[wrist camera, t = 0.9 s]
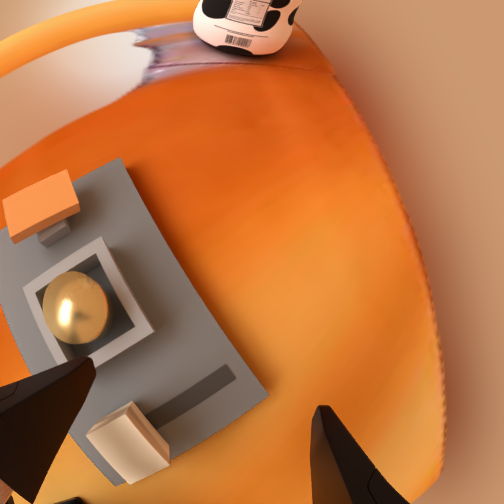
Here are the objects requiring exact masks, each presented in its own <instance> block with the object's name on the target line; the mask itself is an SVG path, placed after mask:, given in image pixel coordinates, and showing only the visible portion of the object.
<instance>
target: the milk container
mask: <svg viewBox="0 0 504 504" xmlns="http://www.w3.org/2000/svg"><path fill="white" fill-rule="evenodd" d="M301 2H302V0H201V1H200V2H199V4H198V5H197V7H196V10H195V12H194V17H193V28H194V31H195V34H196V35H197V36H198V37H199V38H200V39H201V40H202V41H203V42H205V43H207V44H209V45H211V46H212V47H214V48H217V49H220V50H223V51H226V52H229V53H234V54H240V55H247V56H249V55H252V56H261V55H268V54H272V53H275V52H276V51H278V50H280V49H281V48H282V47H283V45H284V44H285V43H286V42H287V40H288V39H289V37H290V35H291V32H292V28H293V21H294V16H295V13H296V11H297V9H298V7H299V5H300V4H301Z"/></svg>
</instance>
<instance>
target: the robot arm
mask: <svg viewBox="0 0 504 504" xmlns="http://www.w3.org/2000/svg"><path fill="white" fill-rule="evenodd" d="M95 378H96V369H95V366H94V362H93V359H92V358H91V357H88V356H86V355H82V356H79V357H77V358H75V359H72V360H70V361H67V362H65V363H62V364H60V365H57V366H55V367H52V368H50V369H47V370H45V371H42V372H40V373H37V374H35V375H32V376H30V377H27V378H25V379H22V380H20V381H17V382H14V383H11V384H8V385H6V386H2V387H0V504H14V501H13V497H12V496H11V494H12V492H13V491H15V492H16V493H18V494H19V495H20V496H22V497H23V498H24V499H26V500H27V501H28V502H30V503H31V504H33V503H34V501H35V499H36V496H37V494H38V492H39V490H40V487H41V485H42V483H43V481H44V479H45V477H46V475H47V473H48V472H47V471H48V470H49V468H50V466H51V464H52V462H53V460H54V458H55V456H56V454H57V452H58V450H59V448H60V447H61V445H62V443H63V441H64V439H65V437H66V435H67V433H68V431H69V430H70V428H71V426H72V424H73V422H74V421H75V419H76V417H77V415H78V413H79V412H80V410H81V408H82V406H83V404H84V402H85V400H86V398H87V396H88V393H89V391H90V389H91V387H92V384H93V382H94V380H95ZM310 467H311V482H312V499H313V504H410V503H409V502H408V501H406V500H405V499H404V498H403V497H402V496H401V495H400V494H399V493H398V492H397V491H396V490H395V489H394V488H393V487H392V486H391V485H390V484H389V483H388V482H387V480H386V479H385V478H384V477H383V476H382V475H381V473H380V472H379V471H378V469H377V468H375V466H374V464H373V463H372V462H371V460H370V459H369V458H368V456H367V455H366V454H365V453H364V451H363V450H362V449H361V447H360V446H359V445H358V443H357V442H356V441H355V439H354V438H353V437H352V435H351V434H350V433H349V431H348V430H347V429H346V427H345V426H344V425H343V423H342V422H341V421H340V419H339V418H338V416H337V415H336V414H335V412H334V411H333V410H332V408H331V407H330V406H329V405H319V406H318V407H317V409H316V411H315V414H314V416H313V418H312V426H311V445H310ZM76 500H77V501H76ZM78 501H79V502H78ZM55 504H85V503H84V502H83V501H82V500H81V499H80V498H78V497H74V498H71V499H68V500H65V501H62V502H58V503H55Z"/></svg>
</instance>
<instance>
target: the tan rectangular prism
mask: <svg viewBox="0 0 504 504" xmlns="http://www.w3.org/2000/svg"><path fill="white" fill-rule="evenodd" d="M86 437H87V438H88V439H89V440H90V442H91V443H92V444H93V445H94V447H95V448H96V449H97V450H98V451H99V453H100V454H101V455H102V456H103V457H104V458H105V459H106V461H107V462H108V463H109V464H110V465H111V466H112V467H113V468H114V469H115V470H116V471H117V472H118V473H119V474H120V475H121V476H122V477H123V478H124V479H125V480H126V481H127V482H128V483H129V484H132V483H135V482H137V481H139V480H141V479H143V478H145V477H148V476H150V475H152V474H154V473H156V472H158V471H160V470H162V469H163V468H165V467H167V466H169V465H170V455H169V444H168V443H167V442H166V441H165V440H164V439H163V438H162V437H161V435H160V434H159V433H158V432H157V431H156V430H155V428H154V427H153V426H152V425H151V424H150V422H149V421H148V420H147V419H146V417H145V416H144V415H143V414H142V412H141V411H140V410H139V409H138V407H137V406H136V405H135V403H134V402H133V401H131V402H129V403H128V404H126V405H124V406H122V407H121V408H119V409H117V410H115V411H114V412H112V413H110V414H108V415H106V416H105V417H103V418H101V419H99V420H98V421H97V422H96V423H95V424H94V426H93V427H92V428H91V429H90V430H89V432H88V433H87V434H86Z"/></svg>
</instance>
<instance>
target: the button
mask: <svg viewBox="0 0 504 504" xmlns="http://www.w3.org/2000/svg"><path fill="white" fill-rule="evenodd" d="M113 312H114V311H113V304H112V301H111V298H110V296H109V294H108V293H107V291H106V290H105V289H104V288H103V287H102V286H101V285H100V284H98V283H97V282H96V281H94V280H93V279H91V278H90V277H89V276H87V275H85V274H83V273H81V272H76V271H69V272H65V273H62V274H60V275H58V276H57V277H55V278H54V279H53V280H52V281H51V283H50V284H49V285H48V287H47V289H46V291H45V294H44V298H43V315H44V319H45V322H46V324H47V326H48V328H49V329H50V331H51V332H52V333H53V334H54V335H55V336H56V337H57V338H58V339H60V340H61V341H63V342H66V343H69V344H83V343H91V342H95V341H97V340H99V339H101V338H102V337H103V336H104V335H105V334H106V333H107V332H108V331H109V329H110V327H111V324H112V321H113Z"/></svg>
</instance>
